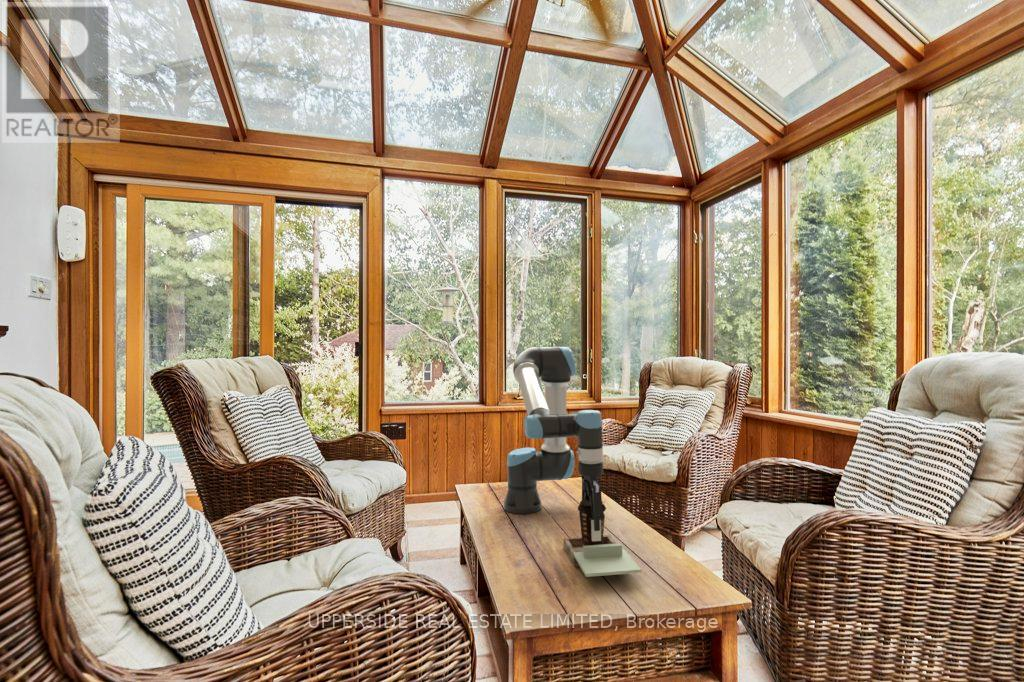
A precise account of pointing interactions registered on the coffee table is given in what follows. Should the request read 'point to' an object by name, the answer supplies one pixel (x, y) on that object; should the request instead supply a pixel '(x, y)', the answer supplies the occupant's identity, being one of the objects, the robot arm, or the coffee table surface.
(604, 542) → the box
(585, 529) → the coffee cup
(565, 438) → the robot arm
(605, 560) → the lid
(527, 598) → the coffee table surface
